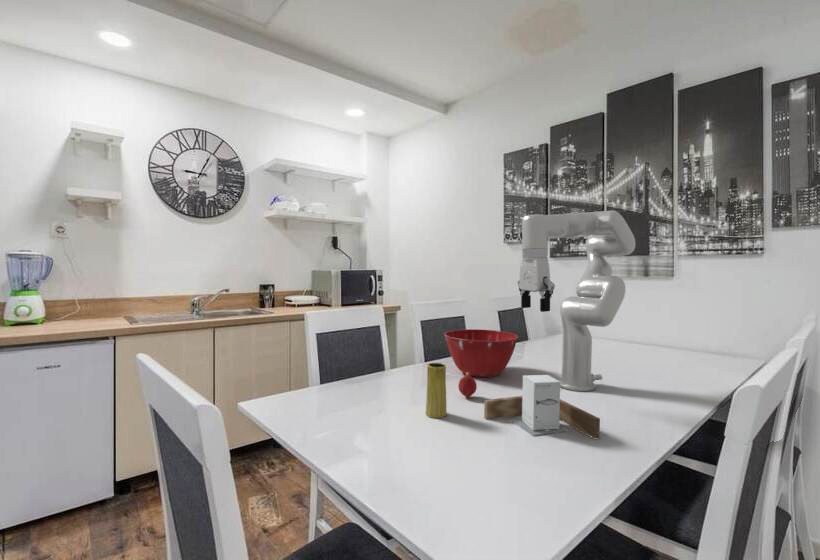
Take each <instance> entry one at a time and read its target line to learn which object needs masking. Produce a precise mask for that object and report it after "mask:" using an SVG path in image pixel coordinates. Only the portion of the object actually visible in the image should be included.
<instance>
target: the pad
mask: <svg viewBox="0 0 820 560" xmlns="http://www.w3.org/2000/svg"><path fill="white" fill-rule="evenodd" d="M511 422H512V423H514V424H515V425H517V426H519V427H520V428H521V429H523V430H524V431H526V432H527V433H528V434H530V435H532V436H533V437H538V436H544V434H545V435H550V433H552V434H557V433H556V432H559V433H564V432H563V431H566V432H568V430H567V429H566V428H564V427H562V426H561V425H559V429H547V430H534V431H533V430H532V429H531V428H530V427H529V426H527V425H526V424H525V423H524V422H523V421H522V418H521V419H514V420H512V419H511Z"/></svg>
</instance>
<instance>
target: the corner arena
mask: <svg viewBox="0 0 820 560" xmlns="http://www.w3.org/2000/svg"><path fill="white" fill-rule="evenodd" d="M522 396H523V395H519V396H510V397H502V398H493V399H492V398H490V399H484V406H483V407H484V408H483V409H484V411H483V412H484V413H483V416H484V417H483V418H484V419H485V420H493V419H502V418H511V417H518V416H522ZM559 421H561V422H563V421H564V422H563V423H564V424H566V423H567V425H568V424H569V426H570V425H571V426H570V427H572V426H573V427H572V428H574V427H575V428H577V429H578V430H577V429H576V430H577V431H579V430H580V431H579V432H581V431H582V432H584V433H586V434H588V435H590V436H592V437H593V438H599V439H600V437H601V436H600V429H601V427H600V426H601V418H600V417H598V416H596V415H593V414H591V413H589V412H587V411H585V410H583V409H581V408H579V407H577V406H575V405H573V404H571V403H570V402H567V401H564V400H563V399H561V398H560V412H559ZM575 428H574V429H575ZM582 432H581V433H582ZM584 433H583V434H584ZM586 434H585V435H586ZM588 435H587V436H588ZM590 436H589V437H590ZM593 438H592V439H593Z"/></svg>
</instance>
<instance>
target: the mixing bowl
mask: <svg viewBox="0 0 820 560" xmlns="http://www.w3.org/2000/svg"><path fill="white" fill-rule="evenodd" d="M444 336H445V340H446V343H447V348H448V351H449V354H450V356H451V358H452V361H453V362H454V364H455V367H456V368H457V369H458V370H459V371H460V372H462V373H463V374H464V375H466V373H469V374H470V376H471V377H473V378H474V377H475V378H492V377H495V376H497V375H498V374H501V373H502V372H503V371H504V370H505V369H506V367H507V366H508V364H509V363H510V360H511V358H512V355H513V354H514V352H515V351H514V350H515V348H516V344H517V341H518V340H517V339H519V336H518V335H517V334H515V333H513V332H512V333H511V332H508V331H507V332H506V331H502V330H493V329H492V330H491V329H474V328H473V329H472V328H471V329H455V330H449V331H446V332H445V333H444Z"/></svg>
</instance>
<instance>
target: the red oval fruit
mask: <svg viewBox="0 0 820 560" xmlns="http://www.w3.org/2000/svg"><path fill="white" fill-rule="evenodd" d="M458 390H459V392H460V394H461V395H462V396H464V397H465V398H466V399H467V398H470V397H471V396H473V395H474V394H475V393H476V391H477V381H476V380H475V378H474V377H473V376H470V374H469V373H466V374H464V376H463V377H461V378H460V380H459V382H458Z"/></svg>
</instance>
